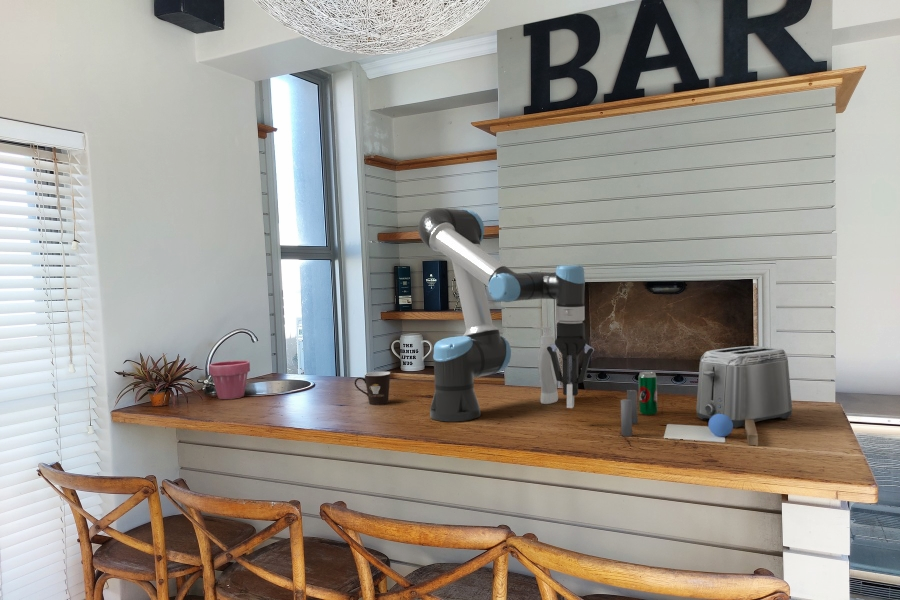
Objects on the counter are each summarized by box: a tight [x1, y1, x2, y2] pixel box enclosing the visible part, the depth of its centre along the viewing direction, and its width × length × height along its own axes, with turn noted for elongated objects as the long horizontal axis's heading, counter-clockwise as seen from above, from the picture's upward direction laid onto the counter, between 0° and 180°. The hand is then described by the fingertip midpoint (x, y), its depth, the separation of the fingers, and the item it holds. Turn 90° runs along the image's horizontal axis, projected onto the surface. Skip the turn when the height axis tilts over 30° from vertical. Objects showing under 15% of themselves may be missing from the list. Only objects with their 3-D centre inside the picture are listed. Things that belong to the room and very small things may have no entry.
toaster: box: [695, 345, 793, 429], centre depth 170 cm, size 17×30×19 cm, turn 113°
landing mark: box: [663, 423, 726, 444], centre depth 157 cm, size 14×14×1 cm
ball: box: [708, 414, 734, 437], centre depth 153 cm, size 6×6×6 cm
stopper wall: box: [744, 419, 759, 447], centre depth 152 cm, size 2×16×2 cm, turn 157°
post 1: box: [620, 398, 633, 437], centre depth 157 cm, size 3×3×9 cm
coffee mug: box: [354, 371, 391, 406], centre depth 208 cm, size 12×9×10 cm
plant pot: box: [208, 360, 251, 400], centre depth 228 cm, size 14×14×13 cm
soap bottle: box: [531, 326, 559, 405], centre depth 201 cm, size 13×8×24 cm, turn 151°
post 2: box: [626, 389, 639, 425], centre depth 169 cm, size 3×3×9 cm
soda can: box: [637, 371, 658, 416], centre depth 179 cm, size 5×5×12 cm
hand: (570, 406), depth 170 cm, fingers closed
